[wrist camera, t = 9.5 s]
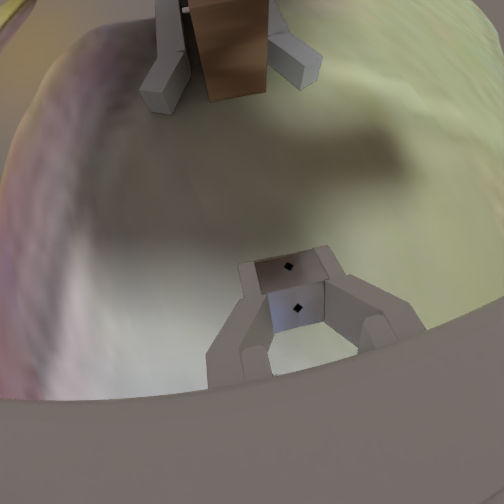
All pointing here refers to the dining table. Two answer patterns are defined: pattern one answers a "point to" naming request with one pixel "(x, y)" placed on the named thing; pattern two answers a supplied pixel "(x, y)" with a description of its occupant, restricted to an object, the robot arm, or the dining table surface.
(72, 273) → the dining table surface
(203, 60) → the walnut plank
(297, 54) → the grey channel
